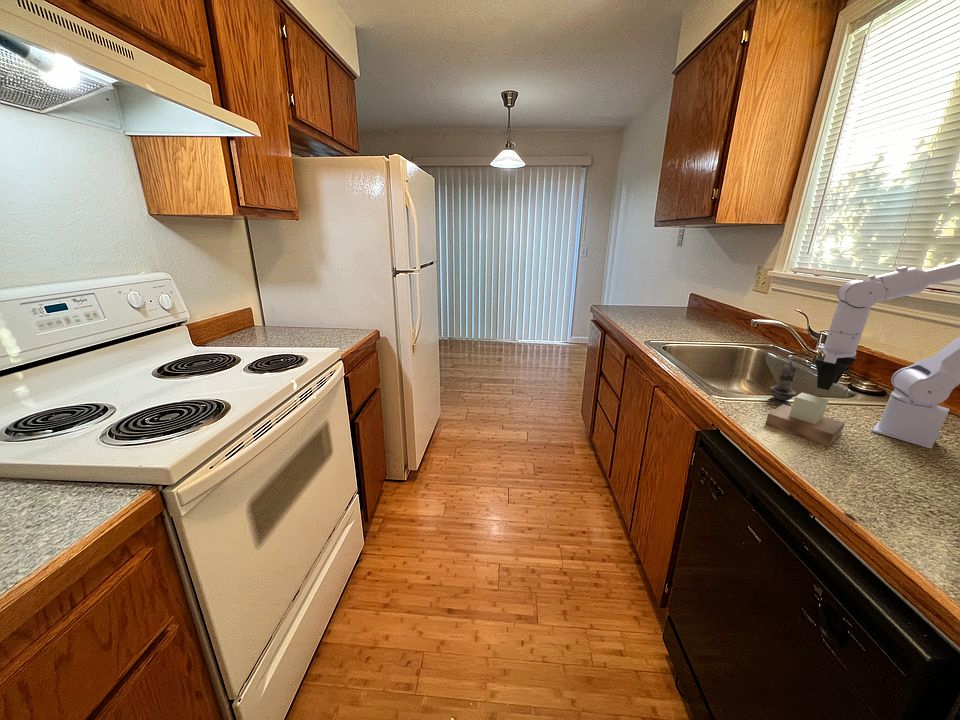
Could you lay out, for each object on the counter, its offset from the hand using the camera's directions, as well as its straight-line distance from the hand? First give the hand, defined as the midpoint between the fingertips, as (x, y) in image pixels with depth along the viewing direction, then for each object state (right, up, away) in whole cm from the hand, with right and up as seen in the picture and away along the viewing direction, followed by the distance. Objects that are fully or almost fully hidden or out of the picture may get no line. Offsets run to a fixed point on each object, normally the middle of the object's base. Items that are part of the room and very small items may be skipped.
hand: (827, 385), depth 94 cm
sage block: (-9, -7, -4) cm, 12 cm away
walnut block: (-9, -10, -3) cm, 14 cm away
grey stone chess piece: (-2, -6, +12) cm, 14 cm away
